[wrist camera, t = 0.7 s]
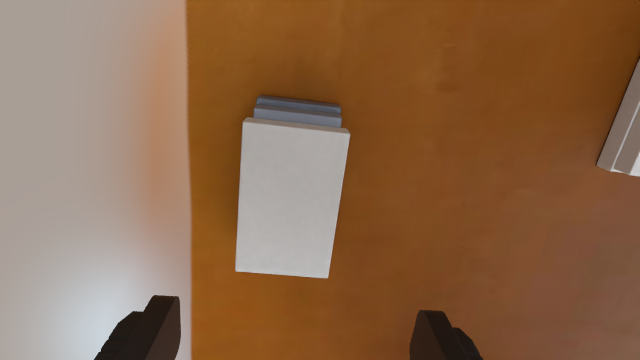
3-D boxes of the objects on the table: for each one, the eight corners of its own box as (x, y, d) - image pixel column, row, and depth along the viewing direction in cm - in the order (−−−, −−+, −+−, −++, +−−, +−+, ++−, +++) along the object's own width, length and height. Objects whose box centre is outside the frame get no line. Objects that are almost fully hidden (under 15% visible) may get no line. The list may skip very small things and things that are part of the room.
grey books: (259, 94, 24) (253, 100, 21) (339, 104, 25) (344, 111, 22) (249, 248, 28) (243, 271, 25) (318, 253, 29) (320, 277, 26)
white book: (246, 116, 21) (242, 121, 20) (347, 128, 22) (350, 133, 21) (238, 259, 25) (234, 271, 23) (326, 266, 25) (328, 278, 24)
